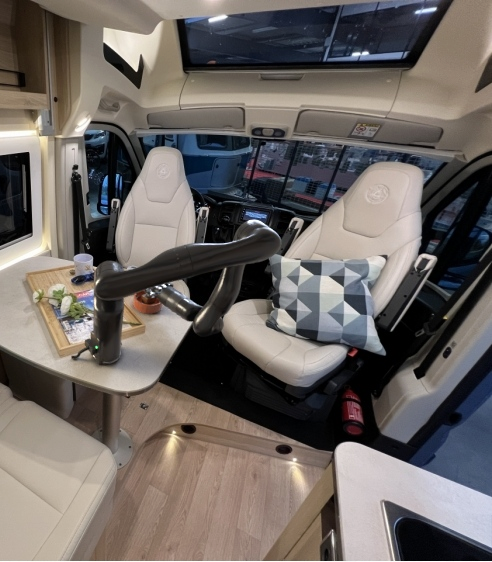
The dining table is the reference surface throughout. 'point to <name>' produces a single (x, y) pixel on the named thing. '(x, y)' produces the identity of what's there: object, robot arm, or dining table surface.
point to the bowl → (144, 307)
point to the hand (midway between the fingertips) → (146, 280)
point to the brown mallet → (148, 299)
